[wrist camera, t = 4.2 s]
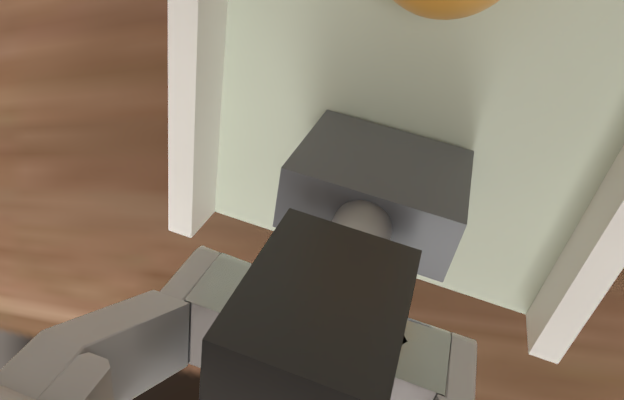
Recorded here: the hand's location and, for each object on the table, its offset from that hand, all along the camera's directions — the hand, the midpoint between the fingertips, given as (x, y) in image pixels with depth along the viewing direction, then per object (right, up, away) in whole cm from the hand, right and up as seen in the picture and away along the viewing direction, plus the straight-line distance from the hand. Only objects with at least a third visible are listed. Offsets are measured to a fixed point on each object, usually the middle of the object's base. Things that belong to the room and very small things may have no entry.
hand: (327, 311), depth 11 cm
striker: (+2, +4, +6) cm, 8 cm away
